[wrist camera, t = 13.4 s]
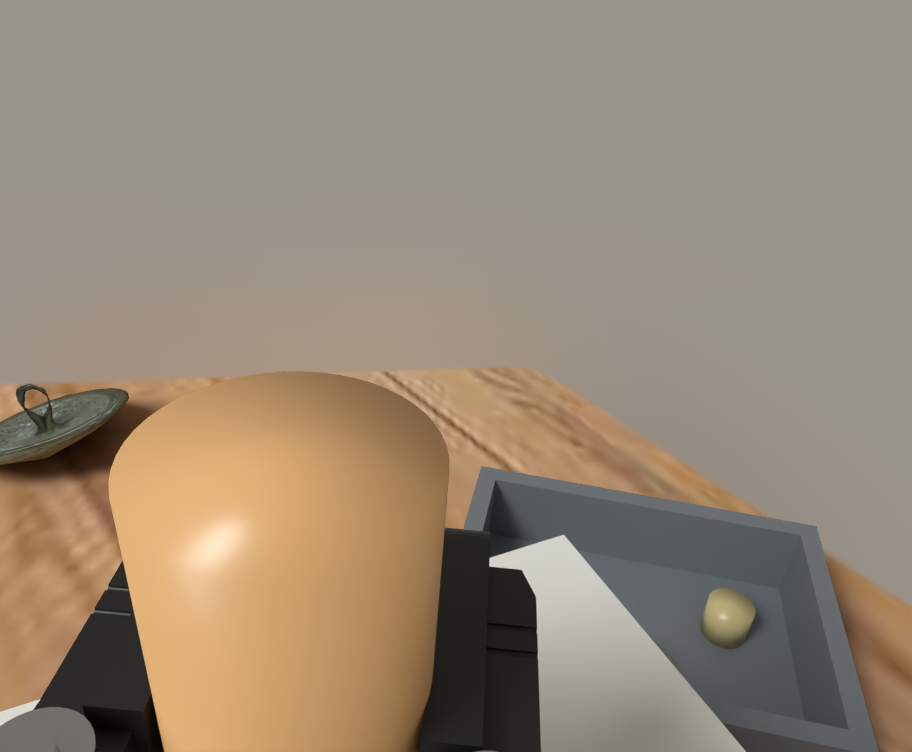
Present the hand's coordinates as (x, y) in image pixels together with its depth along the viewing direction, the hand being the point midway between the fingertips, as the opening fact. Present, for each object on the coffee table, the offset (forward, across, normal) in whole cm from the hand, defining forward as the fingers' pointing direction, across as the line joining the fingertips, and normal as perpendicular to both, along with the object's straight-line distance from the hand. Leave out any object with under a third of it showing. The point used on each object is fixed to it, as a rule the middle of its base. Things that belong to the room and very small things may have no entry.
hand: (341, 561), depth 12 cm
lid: (+32, +26, +25) cm, 48 cm away
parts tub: (+20, -11, +24) cm, 33 cm away
